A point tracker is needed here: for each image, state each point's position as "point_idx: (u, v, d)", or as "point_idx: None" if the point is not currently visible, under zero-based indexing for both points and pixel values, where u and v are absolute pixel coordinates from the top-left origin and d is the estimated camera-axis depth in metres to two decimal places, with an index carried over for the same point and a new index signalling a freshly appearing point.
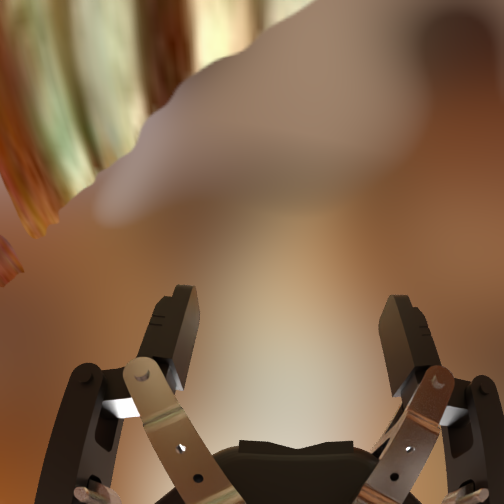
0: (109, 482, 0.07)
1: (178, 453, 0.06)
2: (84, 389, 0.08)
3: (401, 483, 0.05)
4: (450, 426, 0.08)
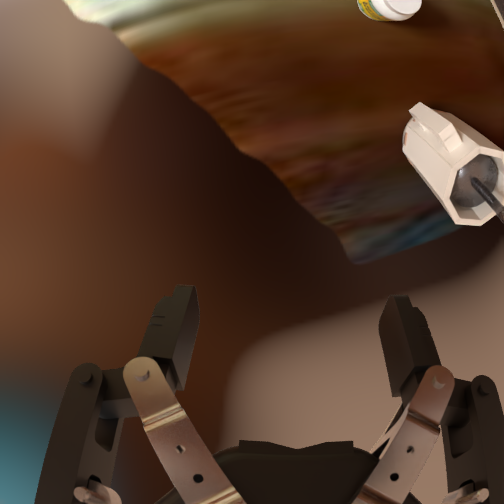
0: (109, 482, 0.07)
1: (178, 453, 0.06)
2: (83, 389, 0.08)
3: (401, 483, 0.05)
4: (450, 426, 0.08)
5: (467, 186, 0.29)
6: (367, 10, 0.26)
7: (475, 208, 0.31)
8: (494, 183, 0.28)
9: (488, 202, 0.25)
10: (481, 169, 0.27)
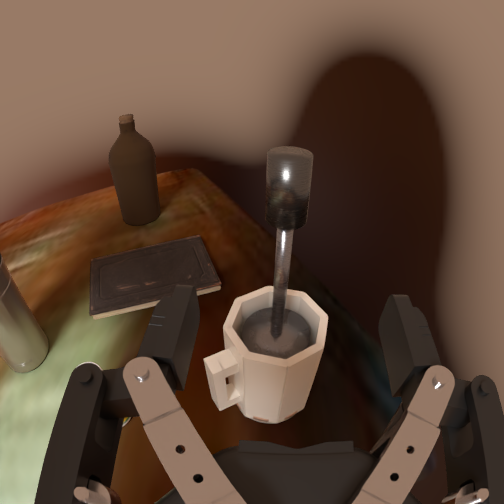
0: (109, 482, 0.07)
1: (178, 453, 0.06)
2: (84, 389, 0.08)
3: (401, 483, 0.05)
4: (450, 426, 0.08)
5: (280, 340, 0.30)
6: None
7: (314, 328, 0.32)
8: None
9: (279, 308, 0.28)
10: (260, 325, 0.32)
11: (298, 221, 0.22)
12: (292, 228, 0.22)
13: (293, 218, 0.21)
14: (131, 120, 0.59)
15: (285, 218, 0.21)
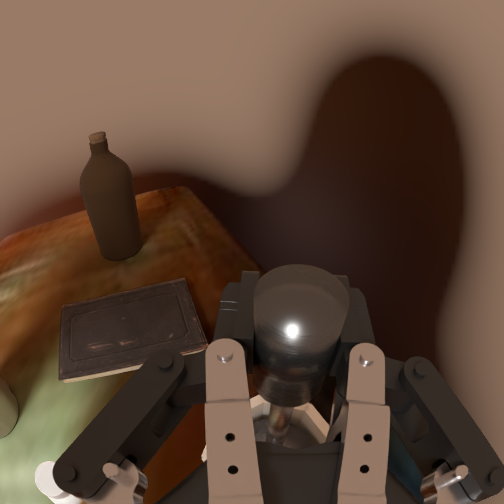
0: (144, 464, 0.08)
1: (226, 440, 0.07)
2: (158, 374, 0.09)
3: (374, 471, 0.06)
4: (396, 413, 0.09)
5: None
6: None
7: None
8: None
9: None
10: None
11: (309, 396, 0.11)
12: (298, 405, 0.12)
13: (301, 396, 0.11)
14: (103, 139, 0.49)
15: (286, 397, 0.11)
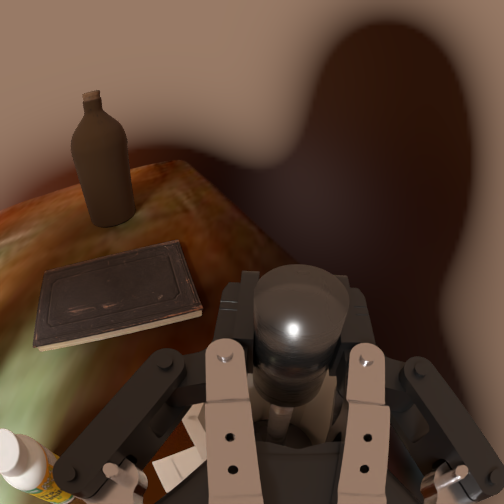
0: (145, 464, 0.08)
1: (226, 440, 0.07)
2: (158, 373, 0.09)
3: (374, 471, 0.06)
4: (396, 413, 0.09)
5: None
6: (47, 499, 0.16)
7: None
8: None
9: None
10: None
11: (309, 396, 0.11)
12: (298, 405, 0.12)
13: (301, 396, 0.11)
14: (97, 97, 0.44)
15: (286, 397, 0.11)
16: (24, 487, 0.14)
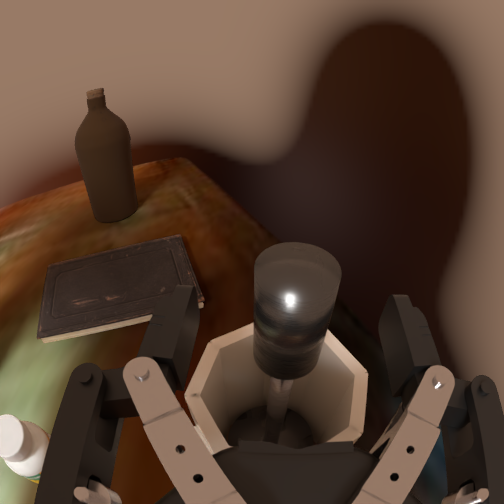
0: (109, 482, 0.07)
1: (178, 453, 0.06)
2: (84, 389, 0.08)
3: (401, 483, 0.05)
4: (450, 426, 0.08)
5: None
6: None
7: (342, 387, 0.18)
8: None
9: (274, 430, 0.19)
10: (251, 431, 0.22)
11: (306, 369, 0.12)
12: (296, 378, 0.13)
13: (298, 368, 0.12)
14: (101, 94, 0.45)
15: (285, 368, 0.12)
16: (27, 473, 0.15)
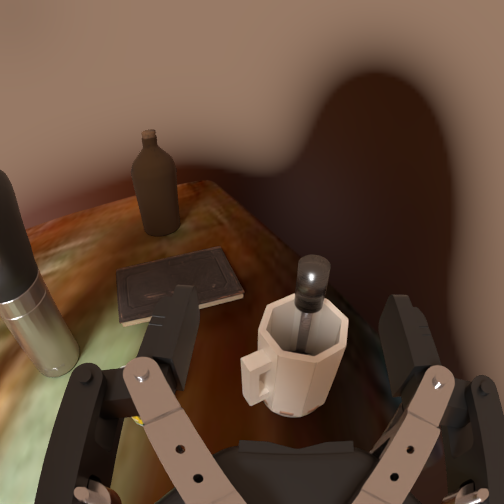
0: (109, 482, 0.07)
1: (178, 453, 0.06)
2: (83, 389, 0.08)
3: (401, 483, 0.05)
4: (450, 426, 0.08)
5: None
6: None
7: (336, 330, 0.36)
8: None
9: None
10: None
11: (317, 308, 0.31)
12: (313, 312, 0.31)
13: (314, 306, 0.30)
14: (154, 135, 0.64)
15: (309, 307, 0.30)
16: None
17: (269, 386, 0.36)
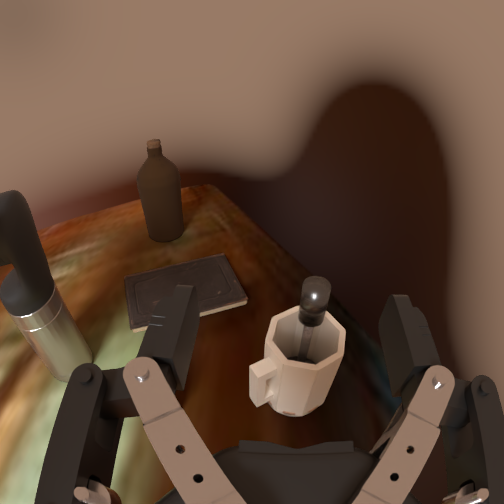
0: (109, 482, 0.07)
1: (178, 453, 0.06)
2: (84, 389, 0.08)
3: (401, 483, 0.05)
4: (450, 426, 0.08)
5: None
6: None
7: (334, 339, 0.40)
8: None
9: None
10: None
11: (319, 322, 0.34)
12: (315, 326, 0.34)
13: (316, 321, 0.34)
14: (159, 145, 0.67)
15: (311, 321, 0.34)
16: None
17: (274, 389, 0.40)
